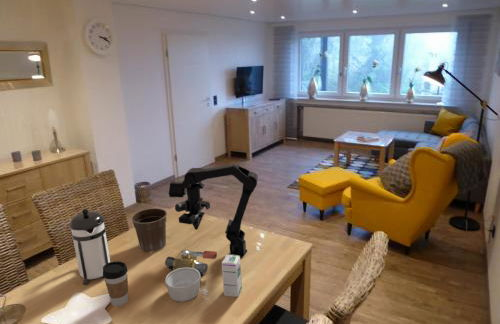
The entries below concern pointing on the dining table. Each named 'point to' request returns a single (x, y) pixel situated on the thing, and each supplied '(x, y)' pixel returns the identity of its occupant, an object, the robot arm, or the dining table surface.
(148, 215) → the plant pot
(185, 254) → the valve lever
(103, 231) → the coffee press
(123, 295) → the coffee cup
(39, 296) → the dining table surface
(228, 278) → the syrup box
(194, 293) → the ramekin
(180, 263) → the valve body
